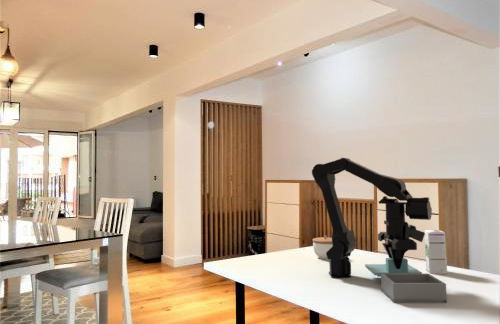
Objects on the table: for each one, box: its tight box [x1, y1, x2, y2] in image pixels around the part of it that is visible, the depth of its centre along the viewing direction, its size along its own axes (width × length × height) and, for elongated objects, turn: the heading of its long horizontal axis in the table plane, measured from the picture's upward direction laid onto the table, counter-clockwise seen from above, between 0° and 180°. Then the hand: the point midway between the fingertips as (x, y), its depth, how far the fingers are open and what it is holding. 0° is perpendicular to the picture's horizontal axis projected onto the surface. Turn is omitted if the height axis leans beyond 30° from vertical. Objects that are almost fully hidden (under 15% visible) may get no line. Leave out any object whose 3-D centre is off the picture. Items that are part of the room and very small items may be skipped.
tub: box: [380, 273, 448, 304], centre depth 108 cm, size 14×11×5 cm
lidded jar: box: [312, 234, 333, 260], centre depth 162 cm, size 11×11×9 cm
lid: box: [364, 257, 423, 278], centre depth 125 cm, size 15×12×6 cm
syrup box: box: [424, 229, 448, 275], centre depth 135 cm, size 6×6×14 cm
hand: (396, 267), depth 120 cm, fingers closed on lid, 2 cm apart
